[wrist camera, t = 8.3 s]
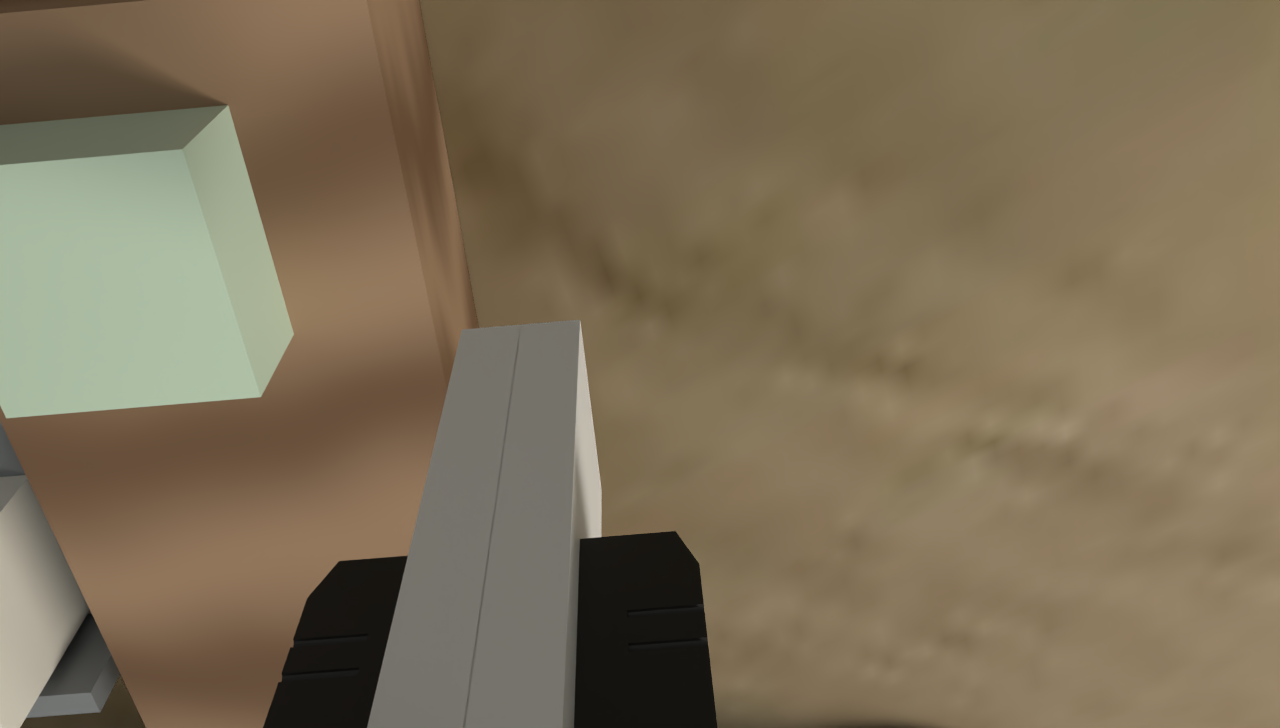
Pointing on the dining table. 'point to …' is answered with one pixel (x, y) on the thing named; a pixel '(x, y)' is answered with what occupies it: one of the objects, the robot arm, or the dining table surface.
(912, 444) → the dining table surface
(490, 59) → the dining table surface
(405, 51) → the walnut riser
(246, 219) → the sage tile
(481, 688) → the robot arm
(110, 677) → the tray
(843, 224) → the dining table surface
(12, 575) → the cream tile
